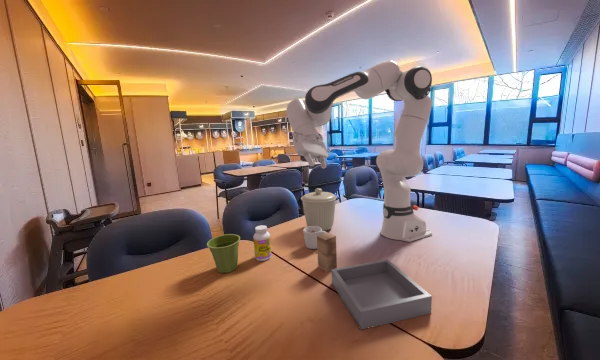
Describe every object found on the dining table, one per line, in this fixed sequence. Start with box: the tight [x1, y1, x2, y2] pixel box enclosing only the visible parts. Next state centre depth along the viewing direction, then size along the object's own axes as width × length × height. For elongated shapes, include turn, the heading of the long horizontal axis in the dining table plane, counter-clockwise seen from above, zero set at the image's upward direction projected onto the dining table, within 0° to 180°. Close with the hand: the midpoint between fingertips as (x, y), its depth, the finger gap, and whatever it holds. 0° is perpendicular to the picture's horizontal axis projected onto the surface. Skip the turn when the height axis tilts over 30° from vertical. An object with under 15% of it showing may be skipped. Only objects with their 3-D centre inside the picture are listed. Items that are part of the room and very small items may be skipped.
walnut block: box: [317, 231, 338, 273], centre depth 87 cm, size 5×5×12 cm
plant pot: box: [206, 233, 241, 274], centre depth 90 cm, size 12×12×11 cm
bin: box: [330, 258, 433, 330], centre depth 70 cm, size 20×20×5 cm
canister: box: [300, 187, 338, 232], centre depth 124 cm, size 18×18×21 cm
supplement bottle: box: [252, 224, 272, 262], centre depth 97 cm, size 7×7×13 cm
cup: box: [302, 226, 327, 250], centre depth 104 cm, size 11×8×8 cm
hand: (318, 166), depth 94 cm, fingers open, 8 cm apart
